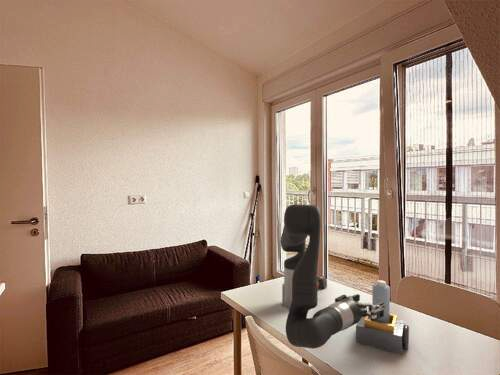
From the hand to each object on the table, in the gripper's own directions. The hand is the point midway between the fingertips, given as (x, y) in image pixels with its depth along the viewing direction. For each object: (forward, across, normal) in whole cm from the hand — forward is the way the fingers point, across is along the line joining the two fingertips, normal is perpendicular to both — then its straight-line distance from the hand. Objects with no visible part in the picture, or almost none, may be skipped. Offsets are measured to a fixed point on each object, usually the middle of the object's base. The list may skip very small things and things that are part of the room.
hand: (370, 301), depth 98 cm
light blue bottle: (+7, 0, +10) cm, 12 cm away
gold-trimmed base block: (+7, 0, +16) cm, 17 cm away
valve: (+25, +47, +16) cm, 56 cm away
